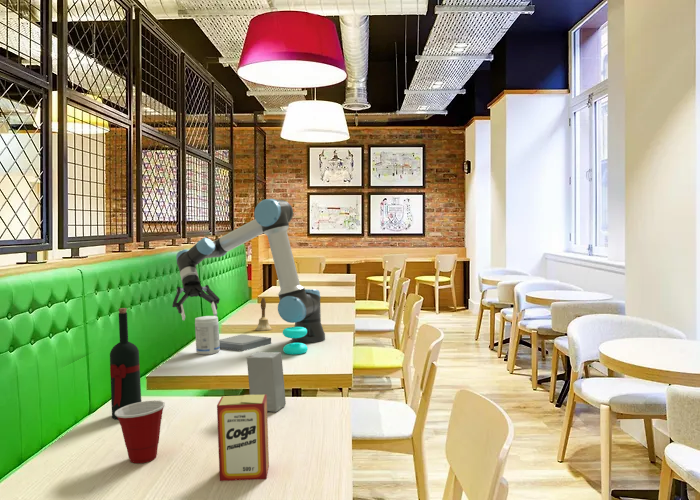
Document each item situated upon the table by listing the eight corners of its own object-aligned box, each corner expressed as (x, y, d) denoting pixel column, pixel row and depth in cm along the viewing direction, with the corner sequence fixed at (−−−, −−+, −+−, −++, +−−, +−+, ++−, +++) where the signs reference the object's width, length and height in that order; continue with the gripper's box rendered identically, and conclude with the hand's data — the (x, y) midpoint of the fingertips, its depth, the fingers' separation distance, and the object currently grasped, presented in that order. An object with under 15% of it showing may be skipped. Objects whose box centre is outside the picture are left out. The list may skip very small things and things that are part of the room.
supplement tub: (213, 349, 256) (212, 315, 256) (223, 352, 249) (222, 317, 248) (192, 352, 250) (190, 317, 249) (202, 356, 243) (200, 320, 242)
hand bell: (263, 327, 309) (262, 296, 308) (275, 328, 304) (274, 297, 303) (251, 330, 302) (250, 298, 301) (263, 331, 297) (262, 299, 296)
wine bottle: (102, 422, 161) (98, 312, 160) (119, 411, 171) (115, 306, 170) (131, 422, 161) (126, 311, 160) (146, 410, 171) (142, 306, 170)
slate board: (271, 343, 266) (271, 337, 266) (242, 351, 251) (242, 344, 251) (241, 339, 276) (241, 334, 276) (212, 347, 261) (212, 340, 261)
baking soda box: (219, 481, 122) (216, 403, 121) (224, 468, 129) (221, 394, 128) (266, 478, 123) (263, 401, 122) (268, 466, 129) (266, 392, 129)
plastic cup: (124, 451, 140) (122, 400, 140) (171, 448, 141) (169, 398, 141) (109, 469, 129) (107, 414, 129) (161, 466, 130) (158, 412, 130)
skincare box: (286, 406, 172) (284, 351, 171) (275, 413, 165) (273, 356, 165) (259, 404, 175) (258, 350, 174) (247, 411, 168) (246, 355, 167)
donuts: (311, 326, 247) (300, 330, 238) (311, 350, 248) (300, 355, 239) (289, 325, 251) (278, 329, 242) (290, 349, 252) (278, 354, 242)
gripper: (216, 282, 276) (227, 319, 264) (160, 286, 265) (169, 325, 252) (219, 272, 272) (230, 308, 259) (162, 275, 260) (171, 314, 247)
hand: (200, 316), depth 256 cm, fingers open, 13 cm apart
